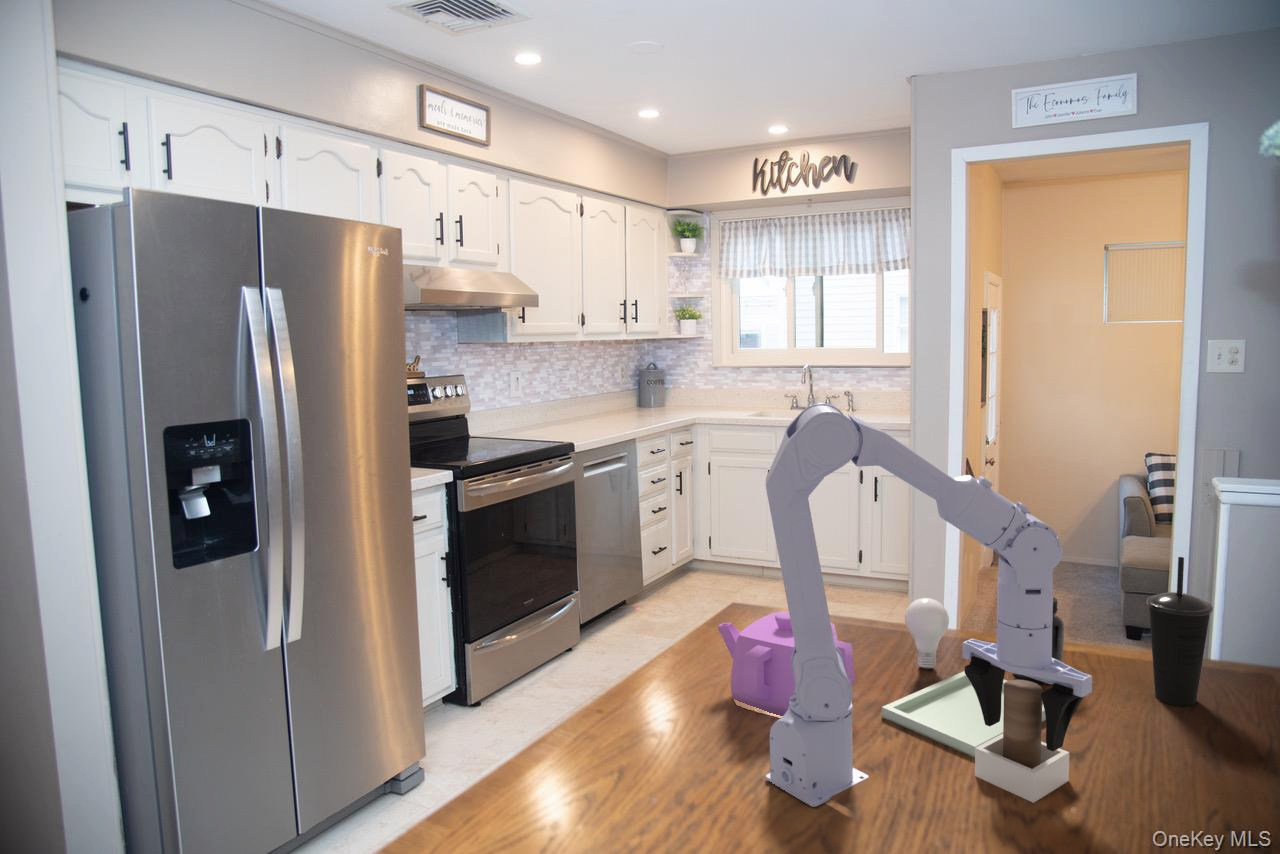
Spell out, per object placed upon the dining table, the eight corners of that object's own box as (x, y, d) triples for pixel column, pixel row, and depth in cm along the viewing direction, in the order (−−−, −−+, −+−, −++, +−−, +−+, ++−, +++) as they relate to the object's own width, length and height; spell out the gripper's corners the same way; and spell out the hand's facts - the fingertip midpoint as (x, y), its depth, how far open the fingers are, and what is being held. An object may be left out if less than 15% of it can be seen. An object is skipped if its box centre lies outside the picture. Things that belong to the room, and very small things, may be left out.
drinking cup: (1189, 686, 123) (1196, 549, 121) (1220, 711, 116) (1227, 565, 113) (1133, 686, 124) (1138, 550, 121) (1159, 710, 116) (1165, 565, 114)
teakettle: (746, 731, 115) (745, 641, 114) (716, 679, 132) (714, 601, 130) (868, 717, 118) (867, 630, 116) (823, 668, 134) (822, 591, 133)
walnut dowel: (1027, 791, 97) (1029, 697, 96) (995, 776, 100) (996, 686, 99) (1047, 779, 99) (1049, 687, 98) (1015, 765, 103) (1016, 676, 101)
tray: (974, 762, 105) (975, 746, 105) (881, 721, 116) (881, 706, 116) (1063, 714, 116) (1064, 700, 116) (971, 681, 128) (971, 668, 127)
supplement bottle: (1009, 680, 127) (1011, 601, 126) (1014, 663, 133) (1015, 588, 132) (1061, 688, 124) (1063, 607, 123) (1063, 670, 130) (1065, 593, 129)
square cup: (1033, 807, 95) (1034, 773, 95) (974, 780, 101) (975, 747, 100) (1068, 785, 99) (1069, 752, 99) (1010, 760, 105) (1010, 729, 104)
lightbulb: (895, 665, 134) (896, 596, 133) (927, 657, 137) (927, 589, 136) (925, 680, 129) (925, 608, 127) (957, 671, 131) (958, 601, 130)
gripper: (1107, 629, 94) (1104, 747, 96) (987, 597, 106) (986, 703, 107) (1073, 645, 90) (1070, 768, 92) (951, 610, 102) (951, 720, 103)
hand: (1022, 735), depth 99 cm, fingers open, 7 cm apart
